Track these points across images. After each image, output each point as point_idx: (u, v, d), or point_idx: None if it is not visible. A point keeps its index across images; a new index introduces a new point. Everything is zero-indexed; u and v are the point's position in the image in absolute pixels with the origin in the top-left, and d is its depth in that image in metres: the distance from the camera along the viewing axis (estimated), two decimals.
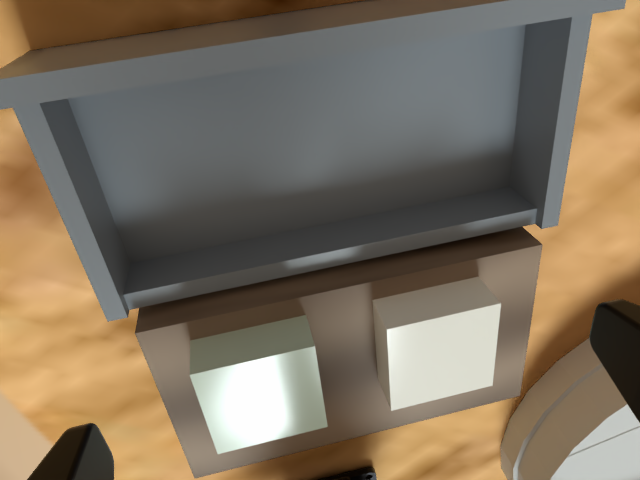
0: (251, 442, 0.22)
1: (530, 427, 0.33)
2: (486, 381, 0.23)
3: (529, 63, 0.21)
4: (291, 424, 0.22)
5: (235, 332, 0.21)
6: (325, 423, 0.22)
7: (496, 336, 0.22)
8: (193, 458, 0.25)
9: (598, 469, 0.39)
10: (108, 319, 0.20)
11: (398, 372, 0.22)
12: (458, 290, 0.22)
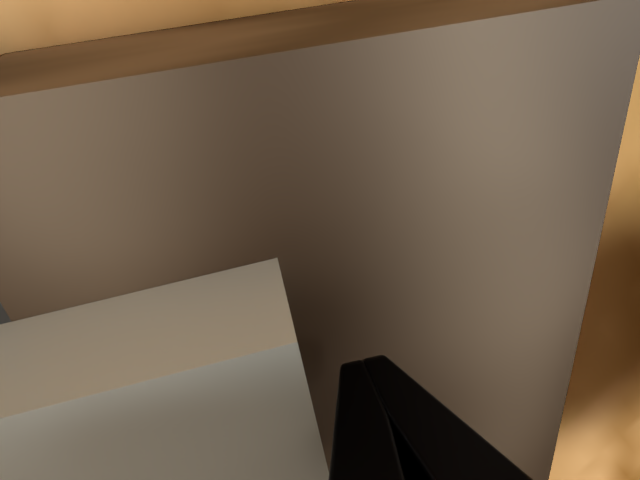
0: None
1: None
2: (271, 369, 0.06)
3: None
4: None
5: None
6: None
7: (51, 400, 0.06)
8: None
9: None
10: None
11: None
12: None
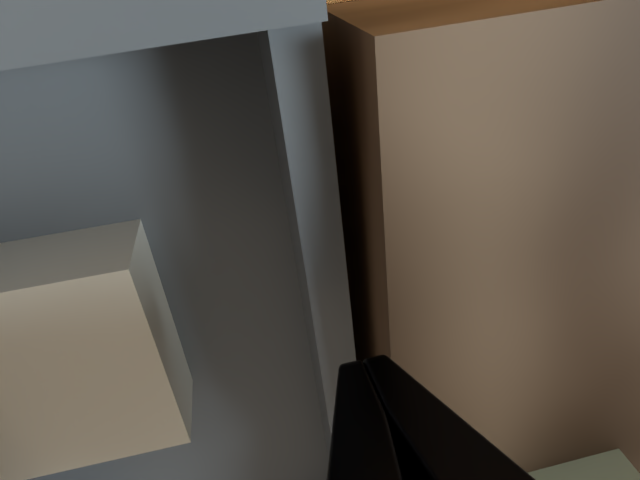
0: None
1: None
2: None
3: None
4: None
5: None
6: None
7: (45, 236, 0.11)
8: None
9: None
10: None
11: None
12: (150, 302, 0.10)
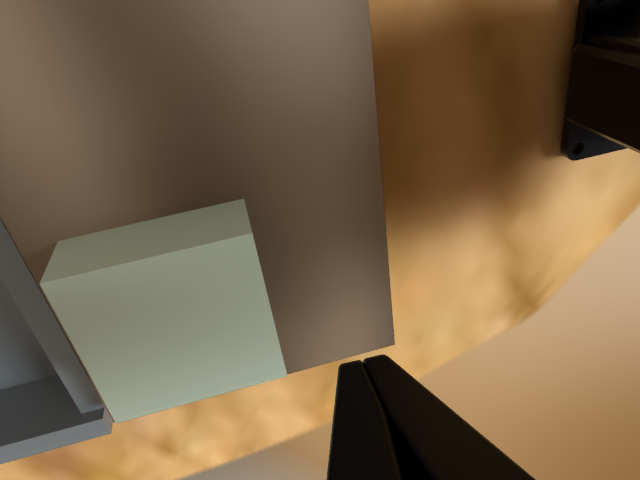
0: (269, 339, 0.14)
1: None
2: None
3: None
4: (236, 291, 0.13)
5: None
6: (242, 238, 0.12)
7: None
8: (353, 349, 0.18)
9: None
10: (107, 433, 0.18)
11: None
12: None
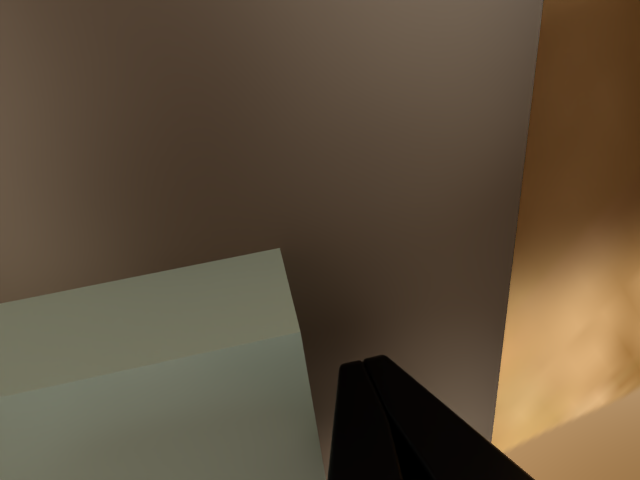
0: None
1: None
2: None
3: None
4: (262, 428, 0.07)
5: None
6: (280, 341, 0.06)
7: None
8: None
9: None
10: None
11: None
12: None
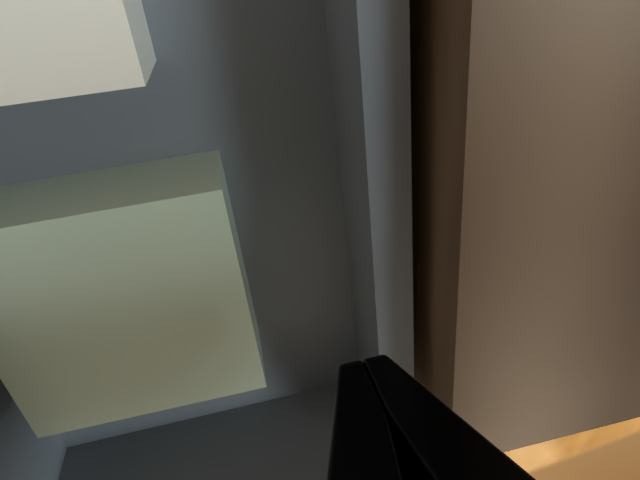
0: None
1: None
2: None
3: None
4: None
5: (252, 318, 0.10)
6: None
7: None
8: None
9: None
10: None
11: None
12: None
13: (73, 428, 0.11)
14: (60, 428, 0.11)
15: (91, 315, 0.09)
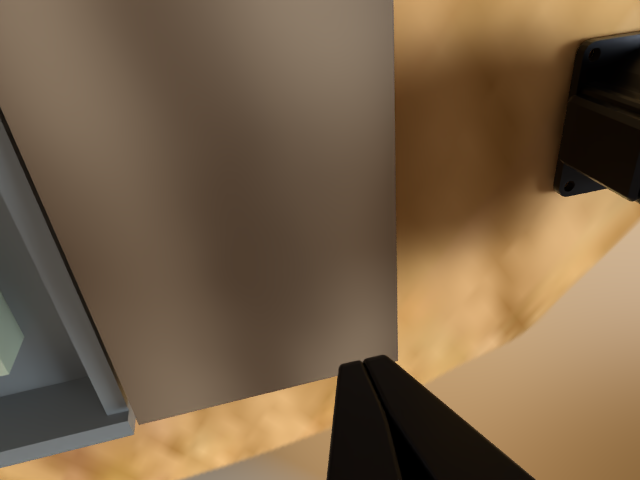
0: None
1: None
2: None
3: None
4: None
5: None
6: None
7: None
8: None
9: None
10: (130, 434, 0.19)
11: None
12: None
13: None
14: None
15: None
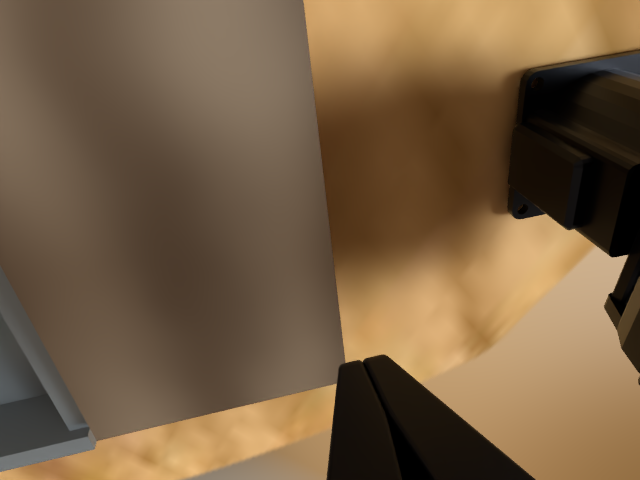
0: None
1: None
2: None
3: None
4: None
5: None
6: None
7: None
8: (309, 384, 0.20)
9: None
10: (91, 449, 0.20)
11: None
12: None
13: None
14: None
15: None
